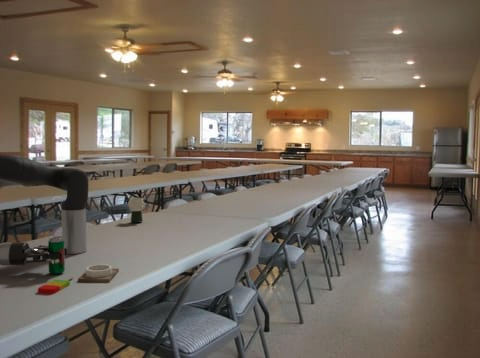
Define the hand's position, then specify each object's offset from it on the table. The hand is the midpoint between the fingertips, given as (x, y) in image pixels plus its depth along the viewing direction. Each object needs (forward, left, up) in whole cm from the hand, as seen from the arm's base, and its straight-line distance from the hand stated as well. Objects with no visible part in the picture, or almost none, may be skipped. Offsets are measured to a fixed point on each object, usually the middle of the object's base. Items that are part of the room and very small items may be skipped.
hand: (64, 253), depth 157 cm
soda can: (0, -3, -7) cm, 7 cm away
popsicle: (+13, +3, -7) cm, 15 cm away
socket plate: (+3, +12, -7) cm, 15 cm away
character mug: (-94, +5, -7) cm, 94 cm away
